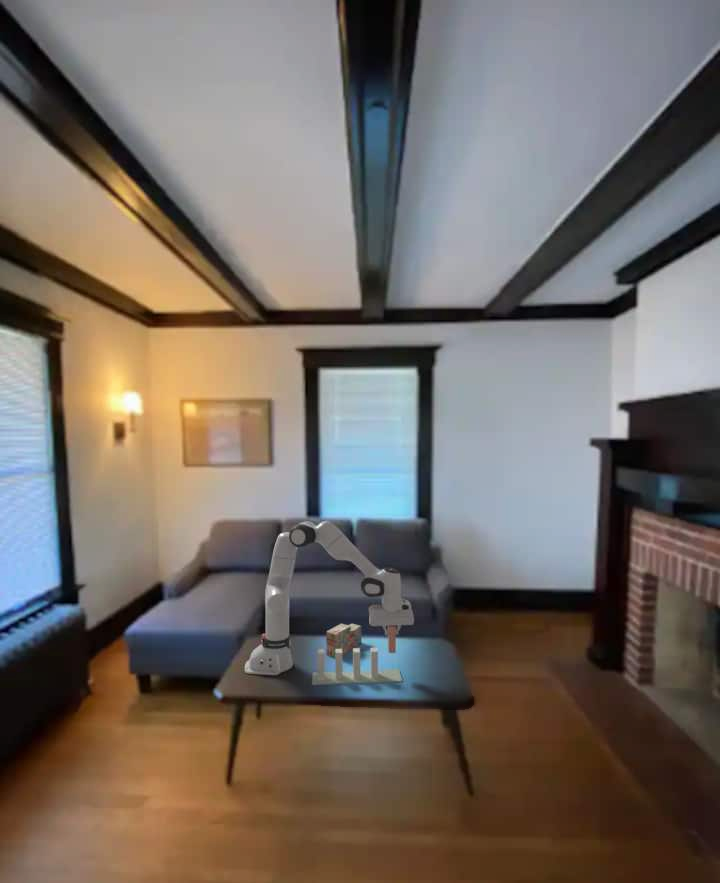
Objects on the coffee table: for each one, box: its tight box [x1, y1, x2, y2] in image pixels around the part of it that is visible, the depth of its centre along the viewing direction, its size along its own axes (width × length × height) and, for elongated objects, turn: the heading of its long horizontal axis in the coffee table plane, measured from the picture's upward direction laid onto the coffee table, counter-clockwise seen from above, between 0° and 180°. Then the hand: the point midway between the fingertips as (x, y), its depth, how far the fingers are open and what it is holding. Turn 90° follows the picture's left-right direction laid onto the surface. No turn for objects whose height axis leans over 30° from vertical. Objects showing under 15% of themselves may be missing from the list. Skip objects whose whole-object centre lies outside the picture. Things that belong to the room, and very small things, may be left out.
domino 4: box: [370, 647, 379, 678], centre depth 216 cm, size 3×4×12 cm
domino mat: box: [311, 669, 403, 686], centre depth 216 cm, size 40×10×1 cm, turn 93°
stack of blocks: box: [325, 623, 362, 659], centre depth 244 cm, size 21×6×12 cm, turn 144°
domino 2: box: [335, 649, 343, 680], centre depth 215 cm, size 3×4×12 cm
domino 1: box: [317, 648, 326, 680], centre depth 215 cm, size 3×4×12 cm
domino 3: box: [352, 647, 361, 679], centre depth 216 cm, size 3×4×12 cm
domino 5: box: [387, 625, 397, 654], centre depth 216 cm, size 3×4×12 cm
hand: (391, 634), depth 216 cm, fingers closed on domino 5, 3 cm apart
